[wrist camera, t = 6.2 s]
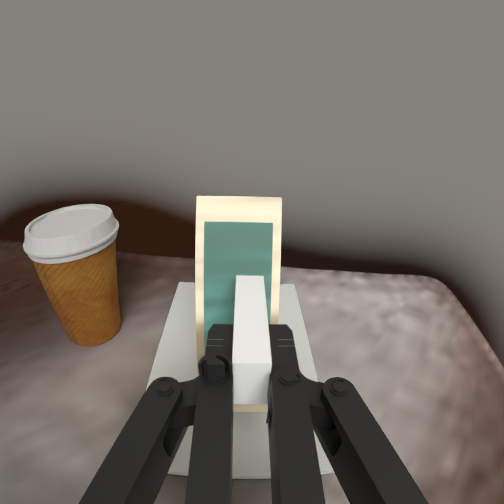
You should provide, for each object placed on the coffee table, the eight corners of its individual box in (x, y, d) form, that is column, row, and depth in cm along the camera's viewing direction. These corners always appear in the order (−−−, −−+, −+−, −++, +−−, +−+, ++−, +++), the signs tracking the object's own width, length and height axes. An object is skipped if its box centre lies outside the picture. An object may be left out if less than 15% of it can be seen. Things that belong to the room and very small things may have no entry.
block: (273, 412, 19) (282, 197, 18) (199, 410, 19) (196, 195, 18) (267, 379, 24) (273, 205, 23) (206, 378, 24) (206, 203, 23)
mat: (335, 472, 16) (337, 470, 16) (128, 467, 16) (126, 465, 16) (293, 287, 38) (294, 284, 38) (179, 284, 37) (179, 282, 37)
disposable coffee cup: (109, 292, 35) (92, 197, 30) (153, 328, 30) (136, 215, 24) (43, 323, 28) (12, 223, 23) (75, 372, 23) (31, 252, 18)
